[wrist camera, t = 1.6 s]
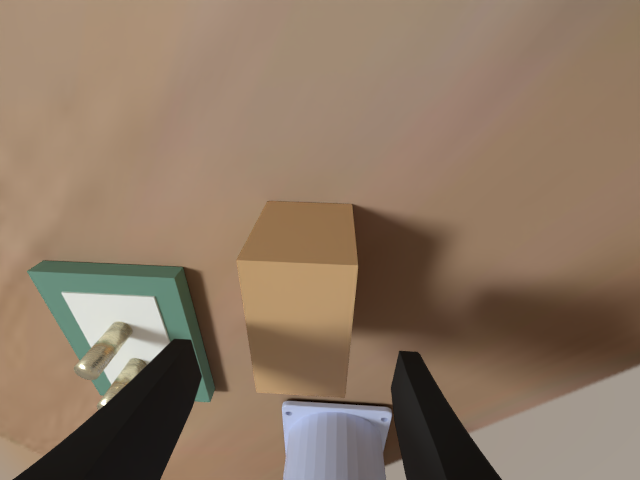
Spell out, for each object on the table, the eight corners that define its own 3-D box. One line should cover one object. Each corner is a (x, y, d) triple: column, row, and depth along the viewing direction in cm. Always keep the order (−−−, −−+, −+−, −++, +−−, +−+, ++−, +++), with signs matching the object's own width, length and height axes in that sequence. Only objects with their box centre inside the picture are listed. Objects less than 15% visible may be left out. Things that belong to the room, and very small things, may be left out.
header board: (215, 389, 22) (192, 449, 18) (109, 382, 22) (67, 440, 19) (183, 267, 16) (141, 320, 13) (42, 260, 17) (-35, 311, 13)
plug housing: (343, 316, 18) (345, 397, 13) (276, 313, 18) (256, 392, 13) (351, 203, 14) (358, 265, 10) (267, 201, 14) (236, 260, 10)
